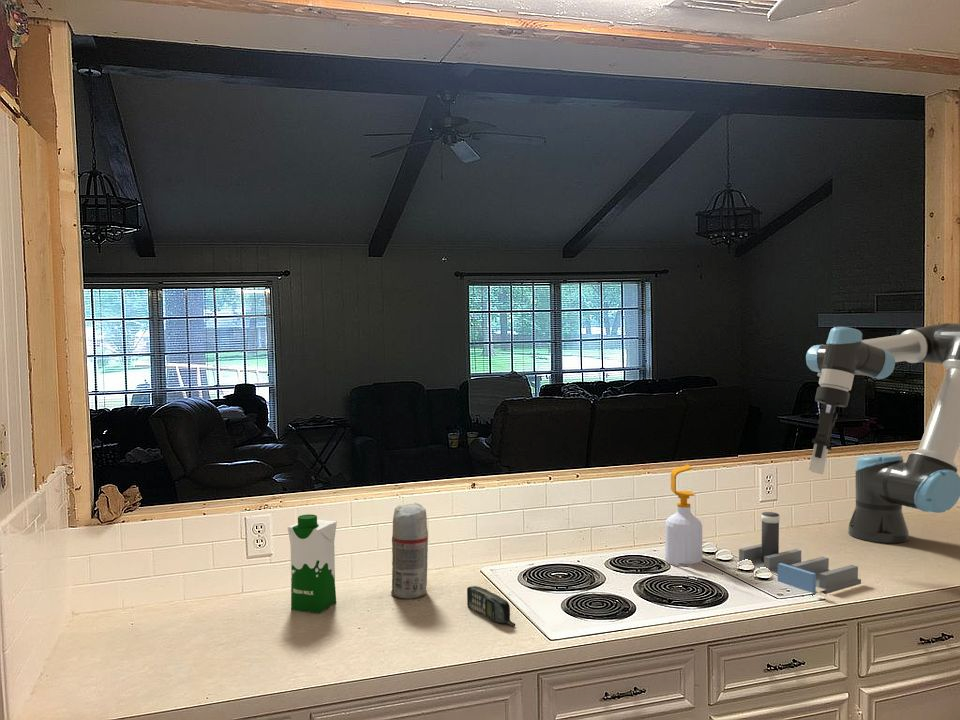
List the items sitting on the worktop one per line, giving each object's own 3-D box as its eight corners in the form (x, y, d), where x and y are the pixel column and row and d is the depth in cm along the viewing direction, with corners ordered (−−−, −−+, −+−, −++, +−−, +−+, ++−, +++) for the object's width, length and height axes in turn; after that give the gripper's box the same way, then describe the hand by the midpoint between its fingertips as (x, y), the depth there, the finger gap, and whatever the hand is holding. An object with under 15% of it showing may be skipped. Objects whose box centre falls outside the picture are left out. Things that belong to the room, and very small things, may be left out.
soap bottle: (706, 567, 189) (707, 469, 188) (669, 567, 189) (669, 469, 188) (696, 556, 198) (697, 462, 197) (661, 556, 198) (661, 462, 197)
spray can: (435, 590, 174) (434, 503, 173) (417, 602, 167) (416, 511, 166) (403, 585, 178) (402, 500, 177) (384, 596, 170) (383, 507, 169)
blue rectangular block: (780, 584, 176) (781, 562, 176) (815, 595, 169) (815, 573, 169) (777, 585, 176) (777, 563, 176) (812, 596, 168) (812, 574, 168)
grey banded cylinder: (768, 558, 193) (768, 511, 193) (782, 562, 190) (783, 514, 189) (757, 560, 191) (757, 513, 190) (771, 565, 187) (771, 516, 187)
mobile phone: (464, 585, 163) (505, 604, 151) (475, 583, 165) (517, 601, 153) (464, 608, 164) (506, 629, 151) (476, 605, 165) (518, 626, 153)
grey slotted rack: (770, 556, 198) (770, 541, 198) (861, 583, 176) (861, 566, 176) (736, 564, 191) (736, 548, 191) (825, 594, 170) (826, 576, 170)
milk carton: (284, 610, 162) (283, 517, 161) (307, 596, 171) (306, 508, 170) (321, 615, 159) (319, 520, 158) (342, 601, 168) (341, 510, 167)
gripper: (819, 391, 203) (802, 470, 201) (815, 379, 180) (796, 466, 179) (850, 397, 199) (833, 477, 198) (850, 385, 177) (831, 474, 176)
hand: (816, 472), depth 188 cm, fingers open, 13 cm apart
